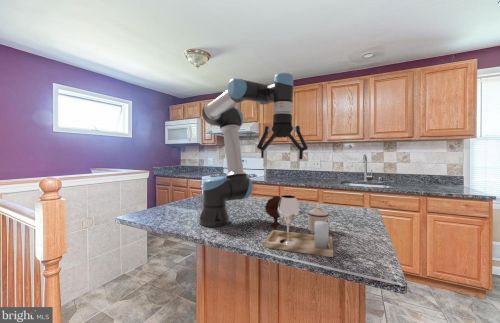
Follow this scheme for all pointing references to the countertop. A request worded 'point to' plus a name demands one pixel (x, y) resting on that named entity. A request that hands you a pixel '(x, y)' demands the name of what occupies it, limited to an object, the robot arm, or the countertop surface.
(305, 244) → the tray
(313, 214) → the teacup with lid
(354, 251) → the countertop surface
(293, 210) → the wineglass
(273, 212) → the ice cream bowl
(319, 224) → the white rounded capsule
